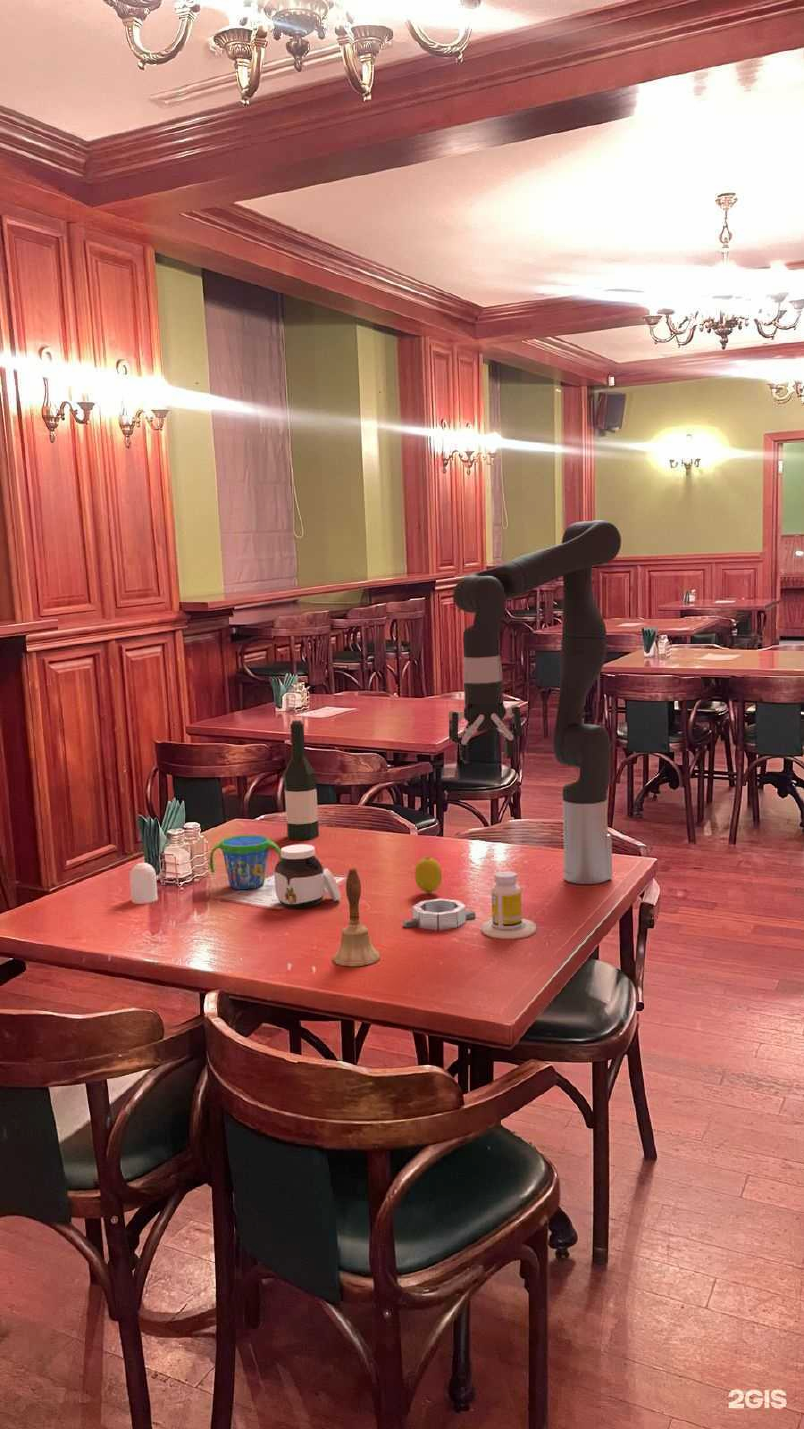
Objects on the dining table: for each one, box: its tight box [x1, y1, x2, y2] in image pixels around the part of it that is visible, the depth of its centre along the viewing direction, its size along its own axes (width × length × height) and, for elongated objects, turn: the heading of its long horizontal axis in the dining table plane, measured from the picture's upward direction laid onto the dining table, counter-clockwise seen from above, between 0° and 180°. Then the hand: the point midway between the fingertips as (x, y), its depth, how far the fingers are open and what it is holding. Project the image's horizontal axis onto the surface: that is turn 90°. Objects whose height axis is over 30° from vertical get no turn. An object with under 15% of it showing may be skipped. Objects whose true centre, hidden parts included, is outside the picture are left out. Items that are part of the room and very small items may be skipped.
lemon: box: [414, 856, 443, 895], centre depth 229 cm, size 6×6×8 cm
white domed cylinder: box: [129, 862, 159, 905], centre depth 234 cm, size 5×5×8 cm
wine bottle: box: [283, 719, 320, 841], centre depth 283 cm, size 8×8×30 cm
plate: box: [481, 918, 537, 940], centre depth 205 cm, size 10×10×1 cm
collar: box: [402, 898, 476, 931], centre depth 211 cm, size 14×9×3 cm
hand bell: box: [332, 868, 381, 968], centre depth 193 cm, size 8×8×16 cm
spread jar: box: [274, 843, 342, 910], centre depth 227 cm, size 12×11×12 cm
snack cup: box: [208, 834, 282, 890], centre depth 241 cm, size 16×10×10 cm
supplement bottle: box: [491, 870, 523, 930], centre depth 204 cm, size 5×5×10 cm
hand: (486, 760), depth 219 cm, fingers open, 8 cm apart
